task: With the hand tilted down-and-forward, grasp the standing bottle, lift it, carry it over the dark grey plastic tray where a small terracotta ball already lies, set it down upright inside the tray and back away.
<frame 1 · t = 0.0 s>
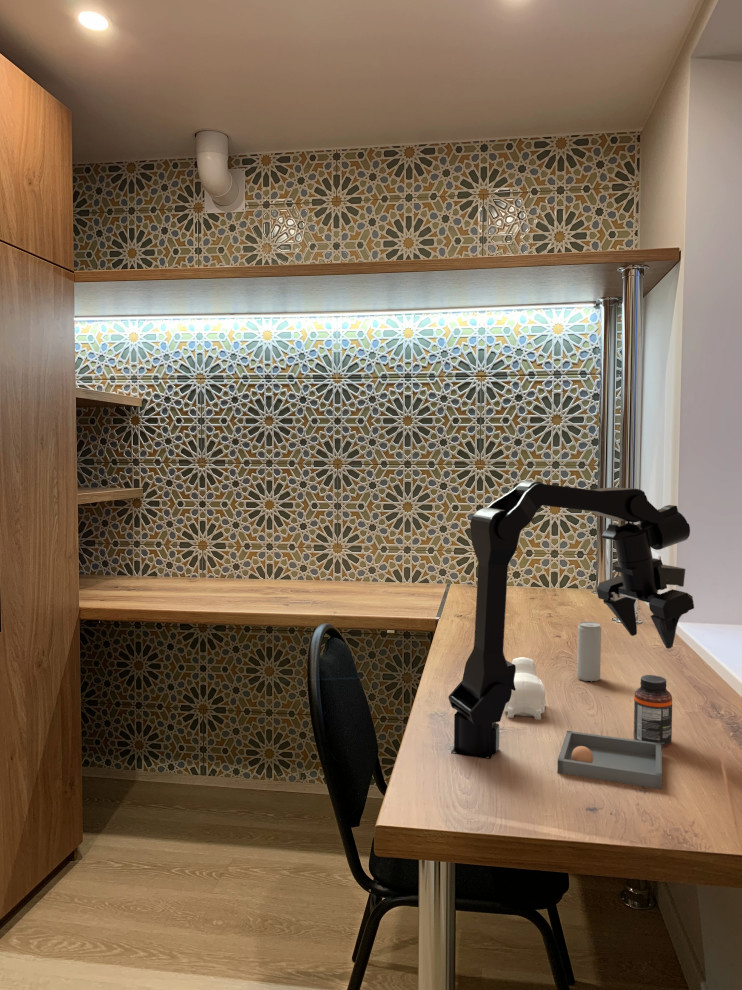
hand: (651, 641, 129), 15 cm above the table, tool pointing down, fingers open, 9 cm apart
supplement bottle: (652, 745, 122), on the table
white low-poly figurine: (523, 710, 139), on the table
beverage can: (588, 679, 157), on the table
ball: (582, 767, 112), point 1 cm above the table, touching tray
tray: (610, 767, 113), on the table
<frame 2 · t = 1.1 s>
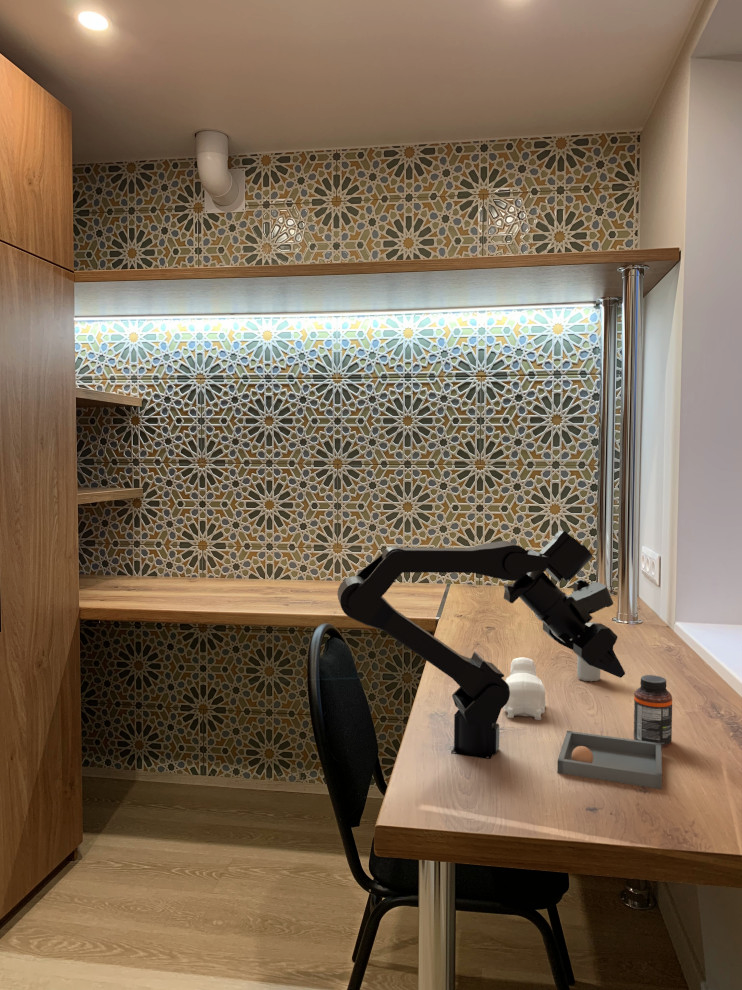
hand: (610, 667, 120), 13 cm above the table, tool tilted 45°, fingers open, 9 cm apart
nothing on the table moved.
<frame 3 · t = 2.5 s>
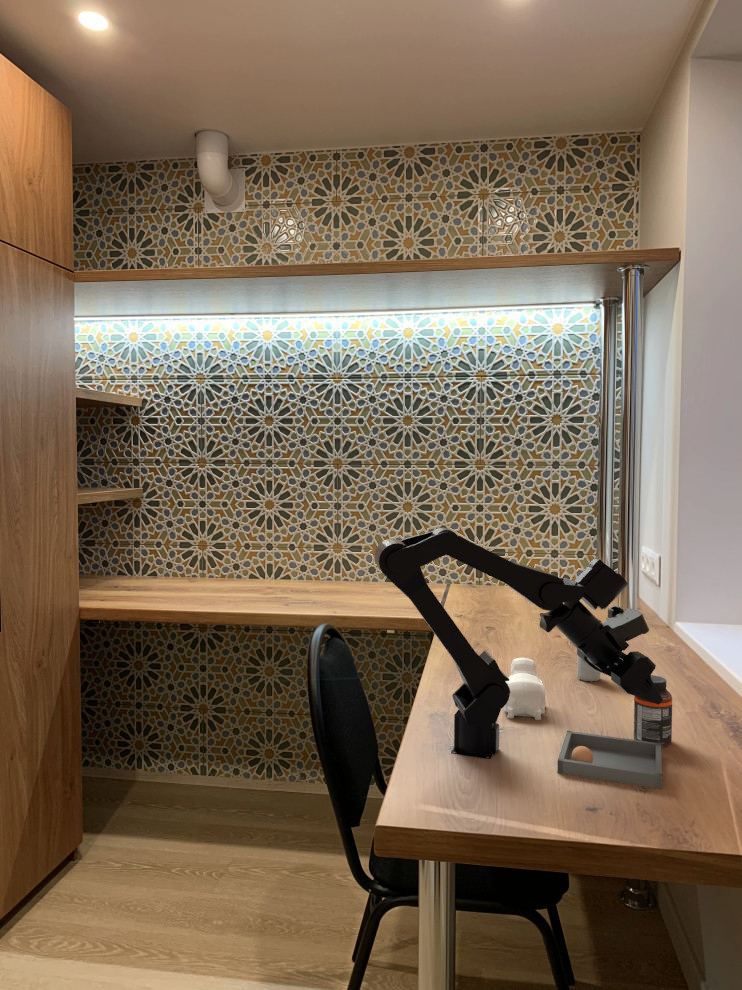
hand: (646, 692, 121), 9 cm above the table, tool tilted 45°, fingers open, 9 cm apart
nothing on the table moved.
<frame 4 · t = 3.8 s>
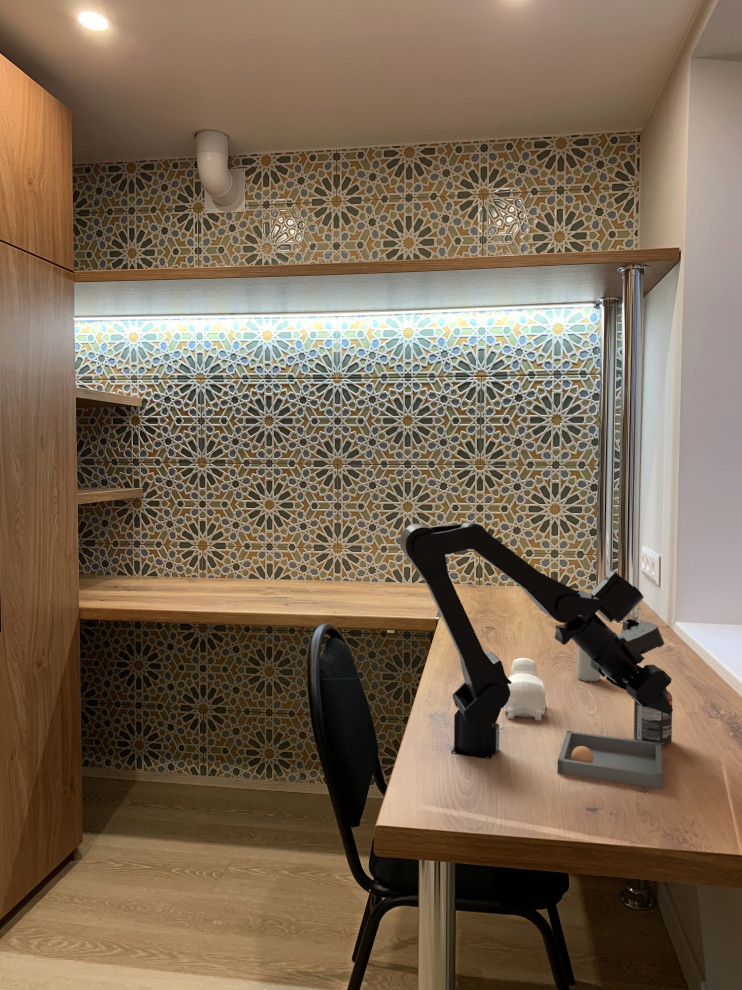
hand: (661, 705, 122), 7 cm above the table, tool tilted 45°, fingers closed on supplement bottle, 6 cm apart
supplement bottle: (652, 745, 122), on the table, touching gripper
everything else where it was.
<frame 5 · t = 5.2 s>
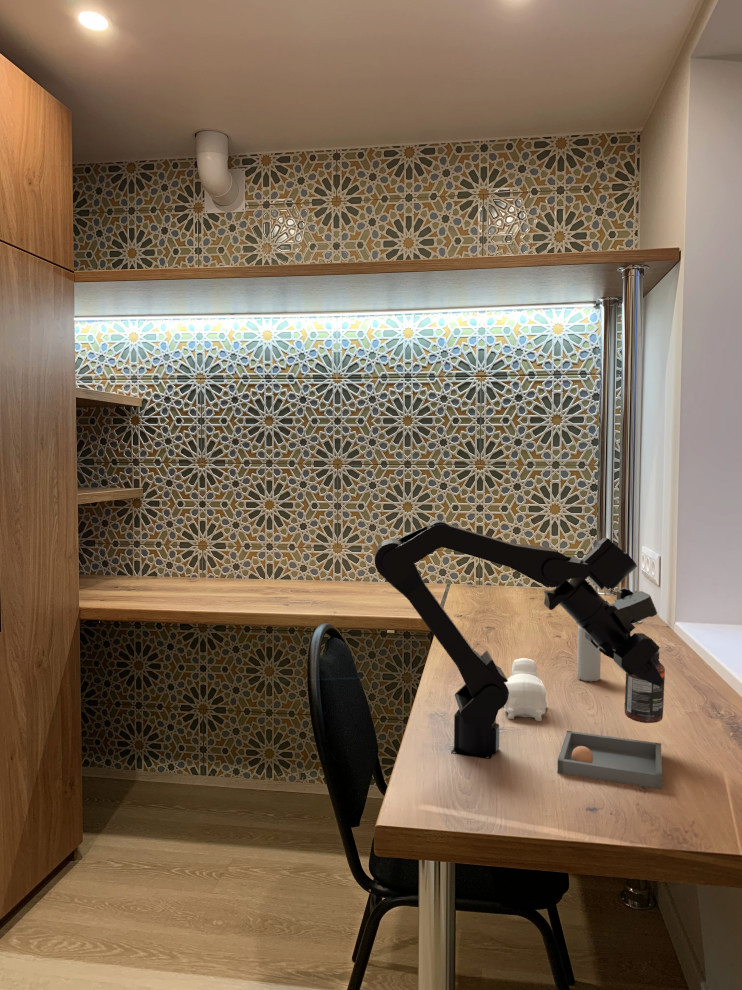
hand: (653, 678, 118), 12 cm above the table, tool tilted 45°, fingers closed on supplement bottle, 6 cm apart
supplement bottle: (643, 718, 119), point 5 cm above the table, touching gripper
everything else where it was.
when the fingers open (8 cm above the table, at t = 7.0 s): supplement bottle drops 1 cm, resting on tray.
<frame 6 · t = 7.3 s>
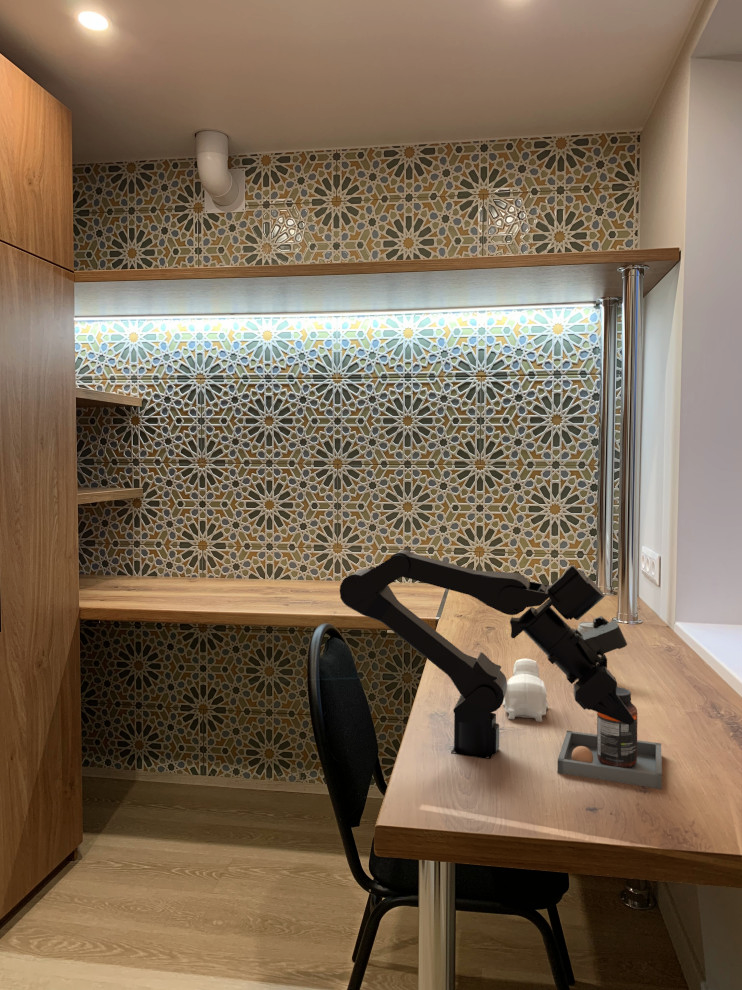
hand: (628, 712, 113), 9 cm above the table, tool tilted 45°, fingers open, 8 cm apart
supplement bottle: (616, 763, 114), resting on tray
everything else where it was.
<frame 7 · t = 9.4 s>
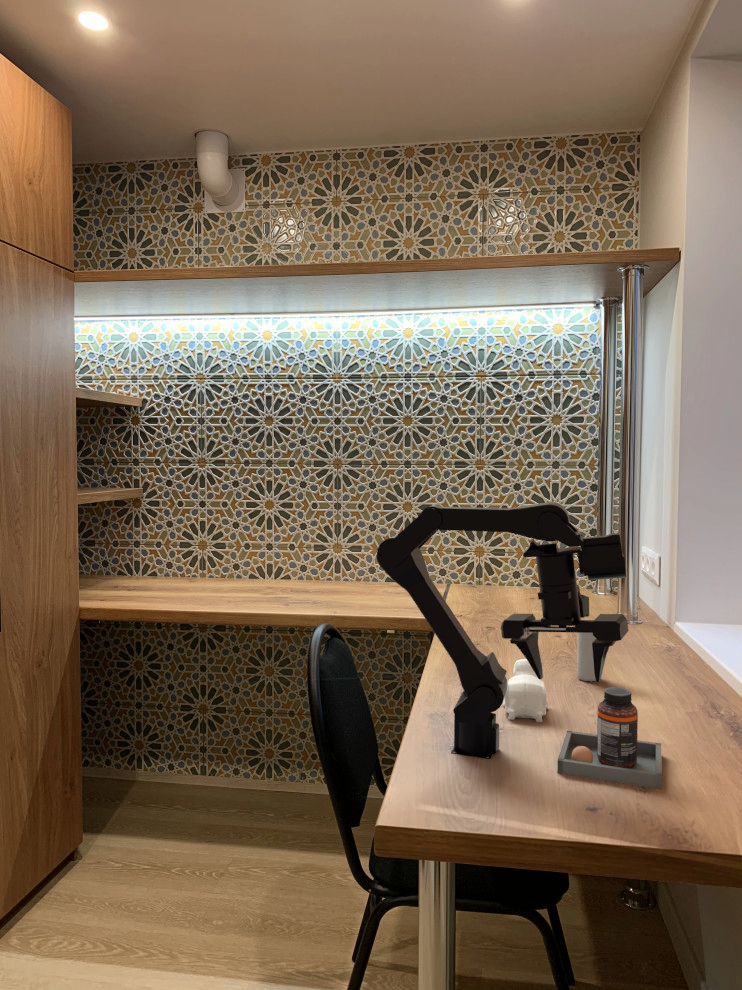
hand: (569, 680, 114), 13 cm above the table, tool pointing down, fingers open, 9 cm apart
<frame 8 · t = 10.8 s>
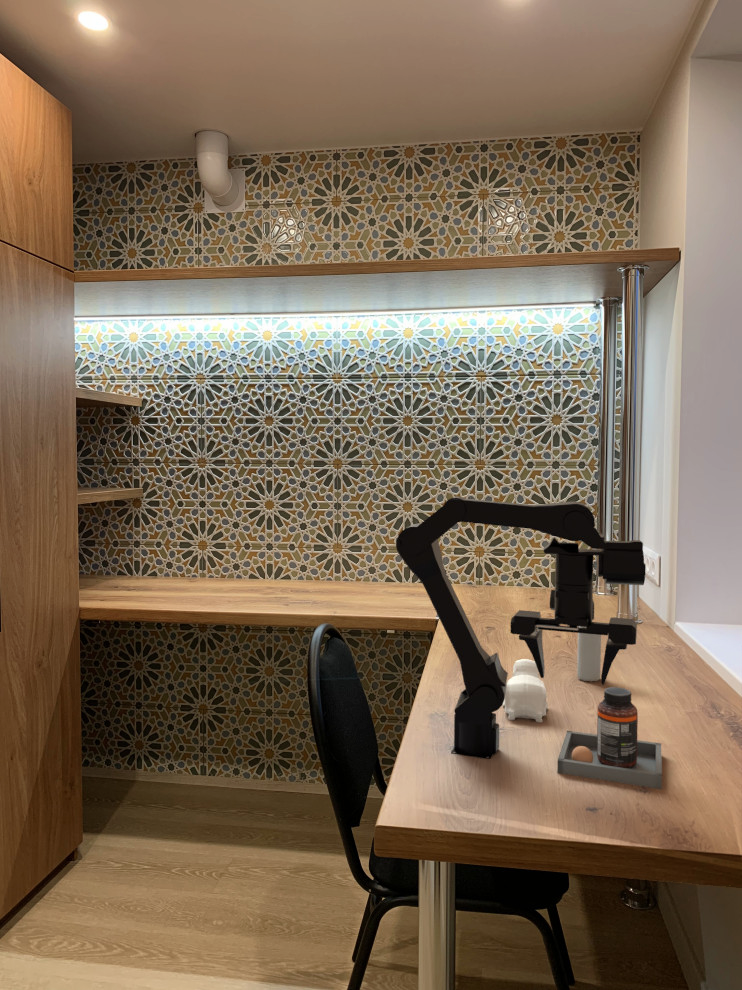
hand: (572, 680, 114), 13 cm above the table, tool pointing down, fingers open, 9 cm apart
at the end: supplement bottle inside the target area on the tray (1.3 cm from its centre), point 0.4 cm above the tray's base; supplement bottle tilted 0°; the gripper is holding nothing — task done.
